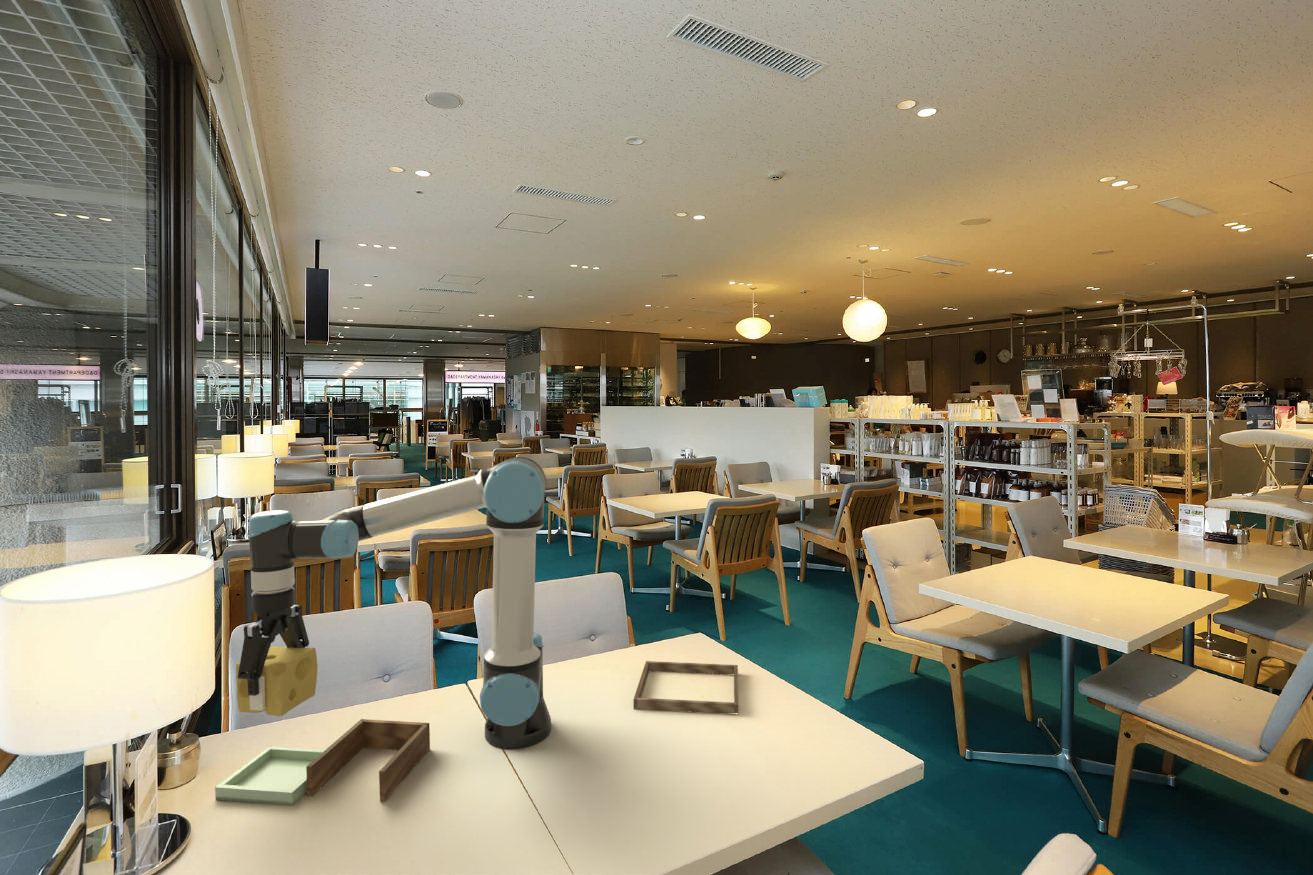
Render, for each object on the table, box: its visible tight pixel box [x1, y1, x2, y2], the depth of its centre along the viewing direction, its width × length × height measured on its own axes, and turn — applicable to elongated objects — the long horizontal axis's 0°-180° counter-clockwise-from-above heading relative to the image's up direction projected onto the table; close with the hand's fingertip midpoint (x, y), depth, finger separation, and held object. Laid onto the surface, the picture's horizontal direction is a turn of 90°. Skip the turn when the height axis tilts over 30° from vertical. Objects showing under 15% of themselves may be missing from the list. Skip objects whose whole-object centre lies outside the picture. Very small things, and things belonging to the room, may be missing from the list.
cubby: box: [306, 718, 431, 803], centre depth 136 cm, size 16×19×6 cm
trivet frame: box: [632, 660, 740, 714], centre depth 174 cm, size 26×24×2 cm
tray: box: [214, 746, 326, 806], centre depth 133 cm, size 16×15×2 cm
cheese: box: [235, 645, 318, 717], centre depth 132 cm, size 10×11×10 cm
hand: (277, 696), depth 132 cm, fingers closed on cheese, 10 cm apart
